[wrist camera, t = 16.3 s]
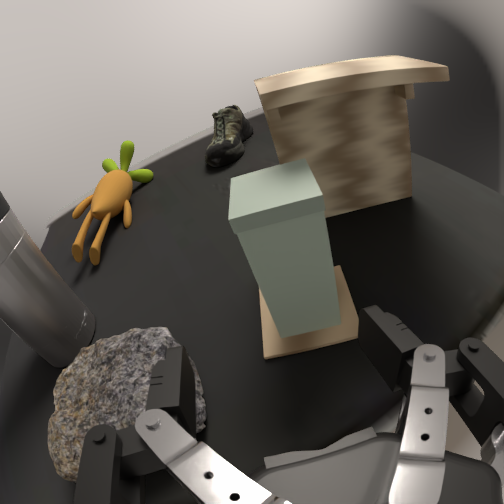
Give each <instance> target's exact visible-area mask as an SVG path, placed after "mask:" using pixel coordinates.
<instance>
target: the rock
mask: <svg viewBox="0 0 504 504" xmlns="http://www.w3.org/2000/svg"><path fill="white" fill-rule="evenodd" d="M178 346H180V344H179V343H178V342H177V341H176V340H175V339H174V338H173V337H172V334H171V333H170V331H169V330H168V329H167V328H163V327H155V328H152V327H149V328H148V329H139V328H134V329H130V330H129V331H127V332H126V333H123V334H121V335H119V336H113V337H111V338H108V339H106V338H105V339H100V340H98V341H96V343H95V344H94V345H91V346H89V347H84V348H81V350H80V352H79V354H78V355H77V356H76V358H75V360H74V361H73V363H72V364H70V366H68V367H67V368H66V369H63V370H62V373H61V374H60V375H59V377H58V379H57V381H56V385H55V387H54V390H53V395H54V404H55V412H54V413H53V414H52V415H51V418H50V419H49V422H48V447H49V452H50V456H51V458H52V460H53V463H54V466H55V469H56V471H57V473H58V474H59V475H60V476H61V477H63V478H64V479H66V480H69V481H72V482H74V483H76V481H77V475H78V469H79V463H80V458H81V453H82V447H83V443H84V438H85V435H86V433H87V432H88V430H89V429H91V428H92V427H94V426H96V425H99V424H106V425H110V426H111V427H112V428H114V430H115V431H116V430H120V429H123V428H126V427H129V426H132V425H134V424H135V422H136V419H137V418H138V416H139V415H140V414H142V413H143V412H145V409H146V403H147V396H148V390H149V386H150V379H151V373H152V368H153V367H154V366H155V364H156V363H157V361H158V360H165V359H166V352H167V348H171V347H178ZM187 355H188V357H189V354H188V353H187ZM189 360H190V363H191V366H192V369H193V372H194V376H195V383H196V433H198V432H201V431H202V430H203V429H204V428H205V427H206V426H205V425H204V424H203V423H204V421H205V420H206V415H207V414H206V412H205V408H206V406H205V401H204V399H203V398H202V394H203V389H202V385H201V380H200V378H199V375H198V372H197V370H196V366H195V363H194V361H192V360H191V359H190V357H189Z"/></svg>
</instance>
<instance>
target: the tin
mask: <svg viewBox="0 0 504 504" xmlns="http://www.w3.org/2000/svg"><path fill="white" fill-rule="evenodd" d="M325 210H326V209H325V204H324V199H323V194H322V192H321V190H320V188H319V186H318V184H317V182H316V180H315V178H314V175H313V173H312V171H311V169H310V167H309V165H308V163H307V161H306V159H305V158H304V159H300V160H296V161H292V162H288V163H284V164H281V165H277V166H273V167H269V168H266V169H262V170H259V171H255V172H252V173H248V174H245V175H241V176H238V177H235V178H231V190H230V204H229V219H228V220H229V222H230V225H231V227H232V229H233V232H234V234H237V236H238V238H239V240H240V243H241V245H242V248H243V250H244V252H245V255H246V257H247V259H248V262H249V264H250V267H251V269H252V271H253V274H254V276H255V278H256V281H257V283H258V285H259V288H260V290H261V293H262V295H263V297H264V300H265V302H266V304H267V307H268V309H269V311H270V314H271V316H272V318H273V321H274V323H275V325H276V328H277V330H278V332H279V335H280V337H281V338H285V337H289V336H294V335H298V334H303V333H307V332H312V331H316V330H320V329H324V328H328V327H332V326H336V325H340V324H341V317H340V309H339V302H338V294H337V287H336V280H335V273H334V267H333V260H332V254H331V248H330V242H329V237H328V231H327V225H326V220H325V215H324V211H325Z"/></svg>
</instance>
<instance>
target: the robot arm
mask: <svg viewBox="0 0 504 504" xmlns="http://www.w3.org/2000/svg"><path fill="white" fill-rule="evenodd" d="M0 318H1V319H2V320H3V321H4V322H5V323H6V324H7V325H8V326H9V327H10V328H11V329H12V330H13V331H14V332H15V333H16V334H17V335H18V336H19V337H20V338H21V339H22V340H23V341H24V342H25V343H26V344H28V345H29V346H30V347H31V348H32V349H33V350H34V351H35V352H37V353H38V354H39V355H40V356H41V357H42V358H44V359H45V360H46V361H47V362H49V363H50V364H51V365H52V366H54V367H65V366H67V365H69V364H71V363H73V361H74V360H75V358H76V356H77V355H78V354H79V352H80V350H81V348H84V347H88V345H89V343H90V341H91V339H92V337H93V334H94V330H95V317H94V315H93V314H92V313H91V312H90V310H89V309H88V308H87V307H86V306H85V305H84V304H83V303H82V302H81V300H80V299H79V298H78V297H77V296H76V295H75V293H74V292H73V291H72V290H71V289H70V288H69V286H68V285H67V284H66V283H65V282H64V280H63V279H62V278H61V277H60V276H59V274H58V273H57V272H56V271H55V269H54V268H53V267H52V266H51V264H50V263H49V262H48V260H47V259H46V258H45V256H44V255H43V254H42V253H41V251H40V250H39V248H38V247H37V246H36V244H35V243H34V242H33V240H32V239H31V237H30V236H29V235H28V233H27V232H26V230H25V229H24V228H23V226H22V225H21V223H20V222H19V220H18V219H17V217H16V216H15V214H14V213H13V211H12V209H11V208H10V206H9V205H8V203H7V201H6V200H5V198H4V197H3V195H2V193H1V192H0ZM358 341H359V345H360V347H361V348H362V350H363V351H364V353H365V354H366V355H367V357H368V358H369V359H370V361H371V362H372V364H373V365H374V366H375V368H376V369H377V370H378V372H379V373H380V375H381V376H382V377H383V379H384V380H385V382H386V383H387V384H388V386H389V387H390V389H391V390H392V392H396V391H398V390H401V389H402V390H403V391H404V394H403V398H402V403H401V408H400V413H399V418H398V423H397V427H396V431H395V433H387V432H382V433H375V431H374V430H373V428H372V427H370V428H367V429H364V430H362V431H359V432H356V433H353V434H350V435H348V436H346V437H344V438H342V439H341V440H339V441H337V442H335V443H334V444H332V445H330V446H328V447H327V448H325V449H322V450H313V451H294V452H288V453H284V454H279V455H274V456H270V457H265V458H264V461H265V465H263V466H261V467H259V468H257V469H255V470H253V471H252V472H251V473H249V474H248V475H247V476H245V475H244V474H243V473H241V472H240V471H239V470H237V469H236V468H235V467H233V466H232V465H231V464H230V463H228V462H227V461H226V460H225V459H223V458H222V457H221V456H220V455H218V454H217V453H216V452H215V451H213V450H212V449H211V448H210V447H209V446H208V445H206V444H205V443H204V442H202V441H199V442H198V441H196V383H195V376H194V372H193V369H192V366H191V363H190V360H189V357H188V355H187V352H186V349H185V347H184V346H178V347H171V348H167V352H166V359H165V360H158V361H157V363H156V364H155V366H154V367H153V368H152V373H151V379H150V386H149V390H148V396H147V403H146V409H145V412H143V413H142V414H140V415H139V416H138V418H137V419H136V422H135V424H134V425H132V426H129V427H126V428H123V429H120V430H116V431H115V430H114V428H112V427H111V426H110V425H106V424H99V425H96V426H94V427H92V428H91V429H89V430H88V432H87V433H86V435H85V438H84V443H83V447H82V453H81V458H80V463H79V469H78V475H77V481H76V488H75V495H74V503H73V504H145V474H149V473H152V472H155V471H158V470H161V469H164V468H165V470H166V471H167V472H168V473H169V474H170V475H171V476H172V477H173V478H174V479H175V480H176V481H177V482H178V483H179V484H180V485H181V486H182V487H183V488H184V489H185V490H186V491H187V492H188V493H189V494H190V495H191V496H192V497H193V498H194V499H195V501H196V502H197V503H198V504H503V499H502V487H504V362H503V361H502V360H501V359H500V358H499V357H498V356H497V355H496V354H495V353H494V352H493V351H492V350H490V349H489V347H487V346H486V345H485V344H484V343H483V342H482V341H481V340H479V339H476V338H466V339H464V340H462V341H461V342H460V345H459V348H458V349H456V350H450V351H443V350H442V349H441V348H440V347H438V346H436V345H433V344H424V343H423V342H422V341H421V340H420V339H419V338H418V337H417V336H416V335H415V334H414V333H413V332H412V331H411V330H410V329H408V328H407V326H406V325H405V324H403V323H402V321H401V320H400V319H399V318H397V317H396V316H394V315H392V314H390V313H388V312H386V313H384V312H383V311H382V310H381V309H380V308H379V307H378V306H377V305H373V306H369V307H366V308H362V309H360V311H359V325H358ZM475 380H476V382H477V383H478V384H479V385H480V386H481V388H482V389H483V391H484V395H483V394H482V393H481V392H480V391H479V389H478V388H477V387H476V386H475V385H474V381H475ZM449 401H450V403H451V404H452V405H453V407H454V408H455V409H456V411H457V412H458V414H459V415H460V417H461V418H462V419H463V421H464V422H465V424H466V425H467V427H468V428H469V429H470V431H471V432H472V434H473V435H474V437H475V438H476V440H477V441H478V442H479V444H480V446H481V447H482V448H481V458H482V459H481V461H480V460H476V459H472V458H469V457H466V456H462V455H459V454H456V453H452V452H449V451H446V450H445V443H446V434H447V421H448V405H449Z"/></svg>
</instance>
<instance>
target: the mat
mask: <svg viewBox="0 0 504 504" xmlns="http://www.w3.org/2000/svg"><path fill="white" fill-rule="evenodd" d="M334 273H335V280H336V287H337V294H338V302H339V309H340V317H341V324H340V325H336V326H332V327H328V328H324V329H320V330H316V331H312V332H307V333H303V334H298V335H294V336H289V337H285V338H281V337H280V335H279V332H278V330H277V328H276V325H275V323H274V321H273V318H272V316H271V314H270V311H269V309H268V307H267V304H266V302H265V300H264V297H263V295H262V293H261V290H260V288H259V293H260V307H261V321H262V336H263V350H264V358H265V359H270V358H276V357H281V356H285V355H290V354H295V353H299V352H304V351H308V350H313V349H317V348H321V347H325V346H329V345H333V344H337V343H341V342H345V341H349V340H352V339H356V338H358V325H359V318H358V315H357V312H356V309H355V306H354V303H353V301H352V298H351V295H350V292H349V289H348V286H347V283H346V280H345V278H344V275H343V272H342V269H341V267H340V265H338V266H335V267H334Z"/></svg>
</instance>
